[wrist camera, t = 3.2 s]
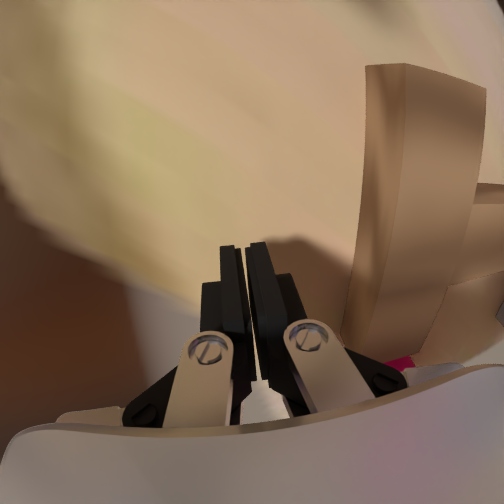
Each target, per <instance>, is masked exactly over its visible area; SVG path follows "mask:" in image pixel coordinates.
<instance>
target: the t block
mask: <svg viewBox="0 0 504 504" xmlns="http://www.w3.org/2000/svg"><path fill="white" fill-rule="evenodd" d="M365 72H366V129H365V153H364V170H363V183H362V195H361V205H360V215H359V223H358V232H357V239H356V247H355V254H354V261H353V267H352V273H351V279H350V285H349V291H348V296H347V302H346V307H345V312H344V317H343V322H342V327H341V331H340V335H341V337H342V339H343V342H344V344H345V346H346V348H347V349H349V350H352V351H354V352H356V353H359V354H361V355H364V356H366V357H368V358H371V359H373V360H376V361H378V362H381V363H385V362H388V361H392V360H395V359H398V358H402V357H405V356H408V355H412V354H415V353H418V352H419V351H420V349H421V347H422V345H423V343H424V341H425V339H426V337H427V335H428V332H429V330H430V328H431V326H432V324H433V322H434V319H435V317H436V315H437V313H438V310H439V308H440V305H441V303H442V301H443V298H444V296H445V293H446V291H447V288H448V286H450V285H454V284H458V283H462V282H466V281H469V280H473V279H477V278H481V277H484V276H488V275H491V274H495V273H498V272H501V271H504V185H502V184H488V183H477V181H478V176H479V170H480V163H481V156H482V148H483V140H484V129H485V115H486V89H485V88H483V87H480V86H478V85H475V84H473V83H470V82H467V81H464V80H462V79H459V78H456V77H453V76H450V75H447V74H443V73H440V72H437V71H433V70H430V69H426V68H422V67H419V66H415V65H411V64H406V63H400V64H381V65H368V66H365Z"/></svg>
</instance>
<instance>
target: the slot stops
mask: <svg viewBox="0 0 504 504" xmlns="http://www.w3.org/2000/svg"><path fill="white" fill-rule="evenodd" d="M496 318H497V319H498V320H499V322H500V323H501V324H502V325H503V327H504V301H503V303H502V305H501V307H500V309H499V311H498V313H497V315H496Z"/></svg>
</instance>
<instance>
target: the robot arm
mask: <svg viewBox="0 0 504 504" xmlns="http://www.w3.org/2000/svg"><path fill="white" fill-rule="evenodd" d="M245 255H246V266H247V278H248V290H249V300H248V294H247V288H246V281H245V275H244V268H243V262H242V255H241V248H237V249H235V247H234V245H229V246H220V273H221V281H217V282H207V283H202V295H201V318H200V333H197V334H195V335H194V336H192V337H190V338H189V339H188V340H187V341H186V343H185V344H184V346H183V349H182V352H181V356H180V360H179V364H178V366H176V367H175V368H174V369H173V370H171V371H170V372H169V373H168V374H166V375H165V376H164V377H163V378H161V379H160V380H159V381H157V382H156V383H155V384H154V385H152V386H151V387H150V388H148V389H147V390H146V391H144V392H143V393H142V394H141V395H139V396H138V397H137V398H135V399H134V400H133V401H131V402H130V403H129V404H128V405H127V406H126V408H121V409H120V408H119V407H118V406H114V407H108V408H101V409H94V410H86V411H77V412H69V413H65V414H63V415H62V416H61V417H59V418H58V419H57V421H56V422H55V423H50V424H44V425H39V426H35V427H31V428H28V429H25V430H23V431H21V432H19V433H18V434H17V435H16V436H14V437H13V438H12V440H11V441H10V443H9V445H8V447H7V449H6V451H5V453H4V456H3V459H2V462H1V466H0V504H504V365H502V364H481V365H475V366H470V367H466V368H465V367H464V366H462V365H460V364H458V363H446V364H439V365H431V366H422V367H413V368H405V370H404V371H403V372H400V371H398V370H397V369H395V368H393V367H391V366H388V365H386V364H383V363H381V362H378V361H376V360H373V359H371V358H368V357H366V356H364V355H361V354H359V353H356V352H354V351H352V350H349V349H347V348H345V347H343V346H342V345H341V343H340V342H339V340H338V339H337V337H336V336H335V334H334V333H333V331H332V330H331V329H330V328H329V326H328V325H326V324H324V323H323V322H321V321H317V320H313V319H308V318H307V315H306V313H305V310H304V307H303V305H302V302H301V299H300V297H299V294H298V291H297V289H296V286H295V284H294V281H293V278H292V276H291V274H290V273H287V274H279V275H275V272H274V269H273V266H272V262H271V259H270V256H269V253H268V249H267V246H266V243H265V242H257V243H250V247H246V248H245ZM249 301H250V307H249ZM250 310H251V313H250ZM251 317H252V321H251ZM252 323H253V329H254V335H255V342H256V348H257V354H258V360H259V366H260V372H261V378H262V380H267V379H268V383H269V388H272V389H273V390H274V391H276V392H278V393H280V394H282V399H283V402H284V405H285V407H286V409H287V412H288V414H289V417H290V418H288V419H282V420H275V421H268V422H260V423H253V424H243V425H242V417H243V400H244V399H245V398H246V397H247V396H248V395H249V394H250V393H251V392H252V388H251V381H257V376H256V365H255V354H254V342H253V331H252Z"/></svg>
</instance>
